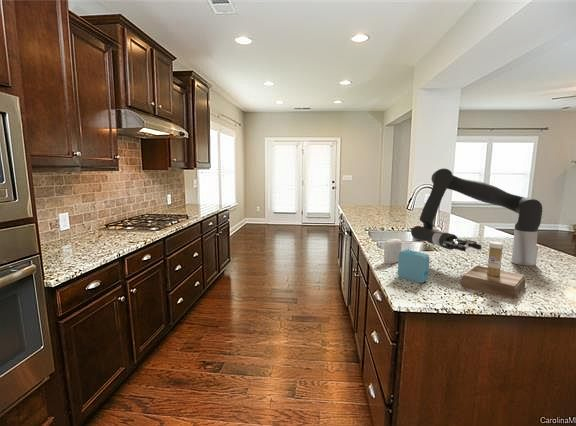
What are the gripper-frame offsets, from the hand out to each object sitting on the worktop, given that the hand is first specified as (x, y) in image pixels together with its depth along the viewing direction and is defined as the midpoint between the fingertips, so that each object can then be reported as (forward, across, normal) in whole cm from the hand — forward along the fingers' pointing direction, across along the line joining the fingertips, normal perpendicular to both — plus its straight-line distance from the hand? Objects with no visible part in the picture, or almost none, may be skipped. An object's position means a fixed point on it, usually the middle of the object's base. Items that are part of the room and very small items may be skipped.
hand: (473, 248), depth 134 cm
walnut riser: (+11, 0, +14) cm, 17 cm away
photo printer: (-31, -19, +14) cm, 39 cm away
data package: (-6, -25, +14) cm, 30 cm away
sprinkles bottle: (+11, 0, +9) cm, 14 cm away
